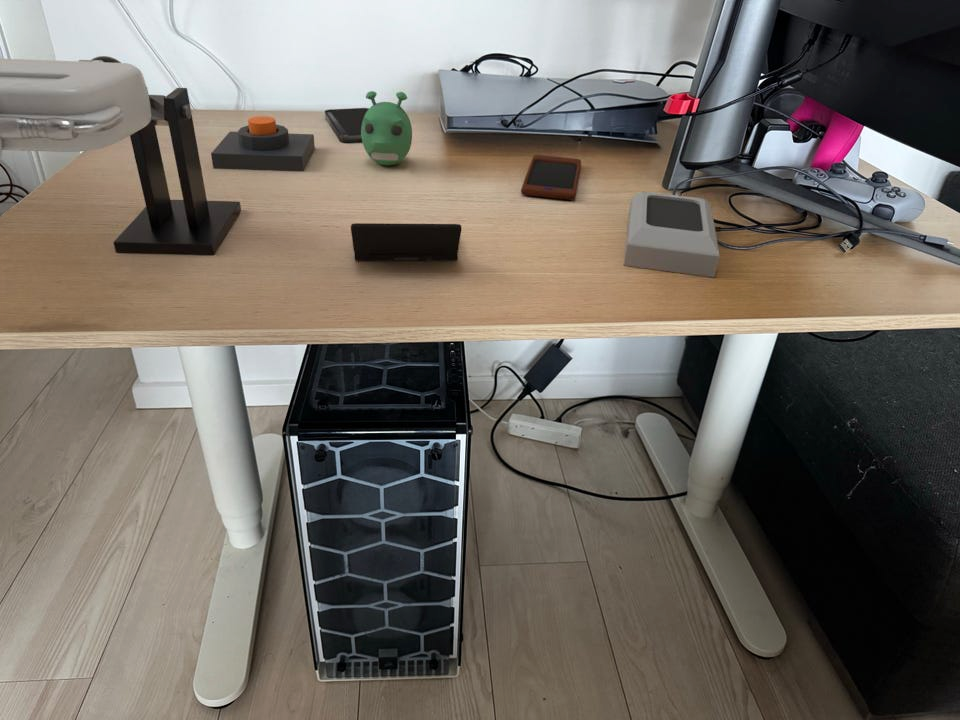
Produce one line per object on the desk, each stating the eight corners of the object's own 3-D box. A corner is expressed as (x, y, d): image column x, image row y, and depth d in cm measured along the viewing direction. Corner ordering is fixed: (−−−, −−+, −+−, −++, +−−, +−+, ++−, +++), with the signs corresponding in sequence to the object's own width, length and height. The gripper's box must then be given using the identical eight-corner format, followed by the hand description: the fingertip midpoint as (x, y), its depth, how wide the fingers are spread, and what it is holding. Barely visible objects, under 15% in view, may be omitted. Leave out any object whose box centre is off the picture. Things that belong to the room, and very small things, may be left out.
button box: (213, 169, 95) (208, 139, 93) (231, 146, 103) (227, 118, 101) (303, 172, 96) (300, 142, 93) (314, 149, 104) (312, 121, 102)
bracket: (214, 255, 74) (187, 110, 66) (115, 252, 73) (76, 105, 65) (241, 210, 84) (221, 80, 75) (155, 208, 83) (125, 76, 75)
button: (246, 136, 96) (245, 123, 95) (252, 128, 99) (251, 115, 98) (273, 137, 96) (272, 124, 95) (279, 129, 99) (277, 116, 98)
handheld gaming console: (448, 216, 81) (452, 167, 71) (463, 272, 79) (470, 230, 69) (348, 235, 79) (339, 188, 70) (362, 293, 77) (354, 253, 68)
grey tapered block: (629, 233, 74) (633, 185, 87) (623, 265, 76) (628, 214, 89) (722, 245, 73) (713, 195, 85) (714, 277, 75) (706, 223, 87)
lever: (120, 95, 59) (119, 51, 58) (76, 94, 59) (74, 49, 58) (182, 132, 73) (181, 96, 73) (146, 131, 73) (145, 95, 72)
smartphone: (520, 188, 91) (533, 153, 104) (520, 195, 92) (532, 159, 104) (575, 194, 90) (581, 158, 103) (574, 201, 91) (580, 164, 103)
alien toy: (356, 172, 97) (352, 96, 91) (368, 154, 103) (365, 83, 97) (407, 176, 96) (406, 100, 91) (416, 158, 103) (415, 86, 97)
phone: (340, 136, 106) (323, 109, 117) (341, 143, 106) (324, 116, 118) (392, 133, 108) (370, 107, 120) (392, 140, 109) (370, 114, 120)
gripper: (83, 71, 36) (171, 26, 47) (-346, 55, 35) (-149, 13, 46) (114, 190, 39) (189, 121, 51) (-275, 180, 38) (-109, 112, 50)
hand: (25, 70), depth 48 cm, fingers open, 8 cm apart
